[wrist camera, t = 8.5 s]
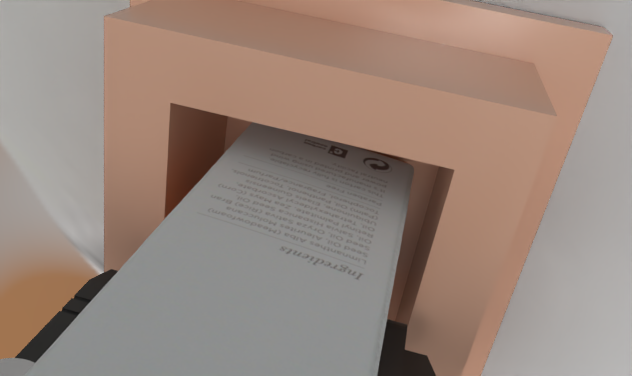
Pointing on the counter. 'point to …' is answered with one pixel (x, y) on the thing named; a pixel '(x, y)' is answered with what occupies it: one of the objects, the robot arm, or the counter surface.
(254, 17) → the tan open box
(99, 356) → the skincare box
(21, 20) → the counter surface
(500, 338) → the counter surface
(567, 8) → the counter surface
